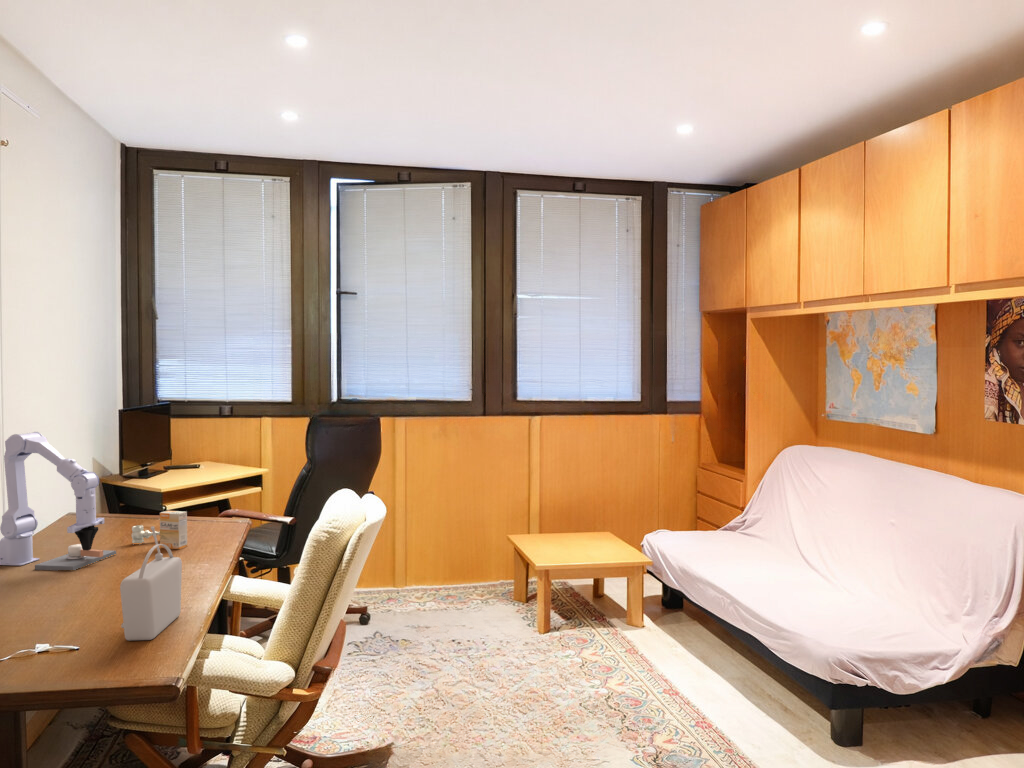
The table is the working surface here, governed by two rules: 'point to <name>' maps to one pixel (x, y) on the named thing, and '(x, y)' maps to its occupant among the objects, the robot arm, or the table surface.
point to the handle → (83, 551)
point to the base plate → (71, 562)
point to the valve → (141, 534)
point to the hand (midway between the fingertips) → (86, 549)
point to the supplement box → (173, 529)
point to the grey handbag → (151, 595)
